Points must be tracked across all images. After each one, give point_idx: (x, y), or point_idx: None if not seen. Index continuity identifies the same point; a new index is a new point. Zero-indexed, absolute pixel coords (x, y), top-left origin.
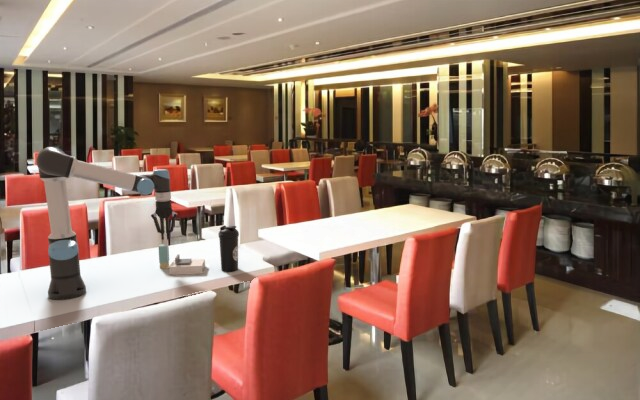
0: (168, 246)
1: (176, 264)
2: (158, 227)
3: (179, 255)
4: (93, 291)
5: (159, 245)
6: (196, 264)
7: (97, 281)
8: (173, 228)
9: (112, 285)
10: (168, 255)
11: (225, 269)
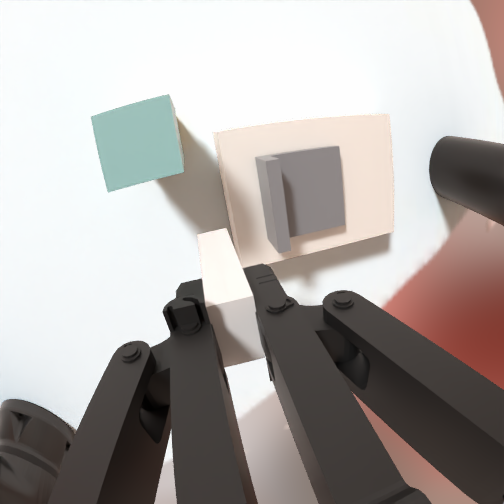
0: (170, 98)
1: None
2: (162, 457)
3: (277, 158)
4: (77, 418)
5: (102, 160)
6: (370, 213)
7: (14, 355)
8: (380, 320)
9: (85, 384)
10: (176, 121)
11: (447, 198)
